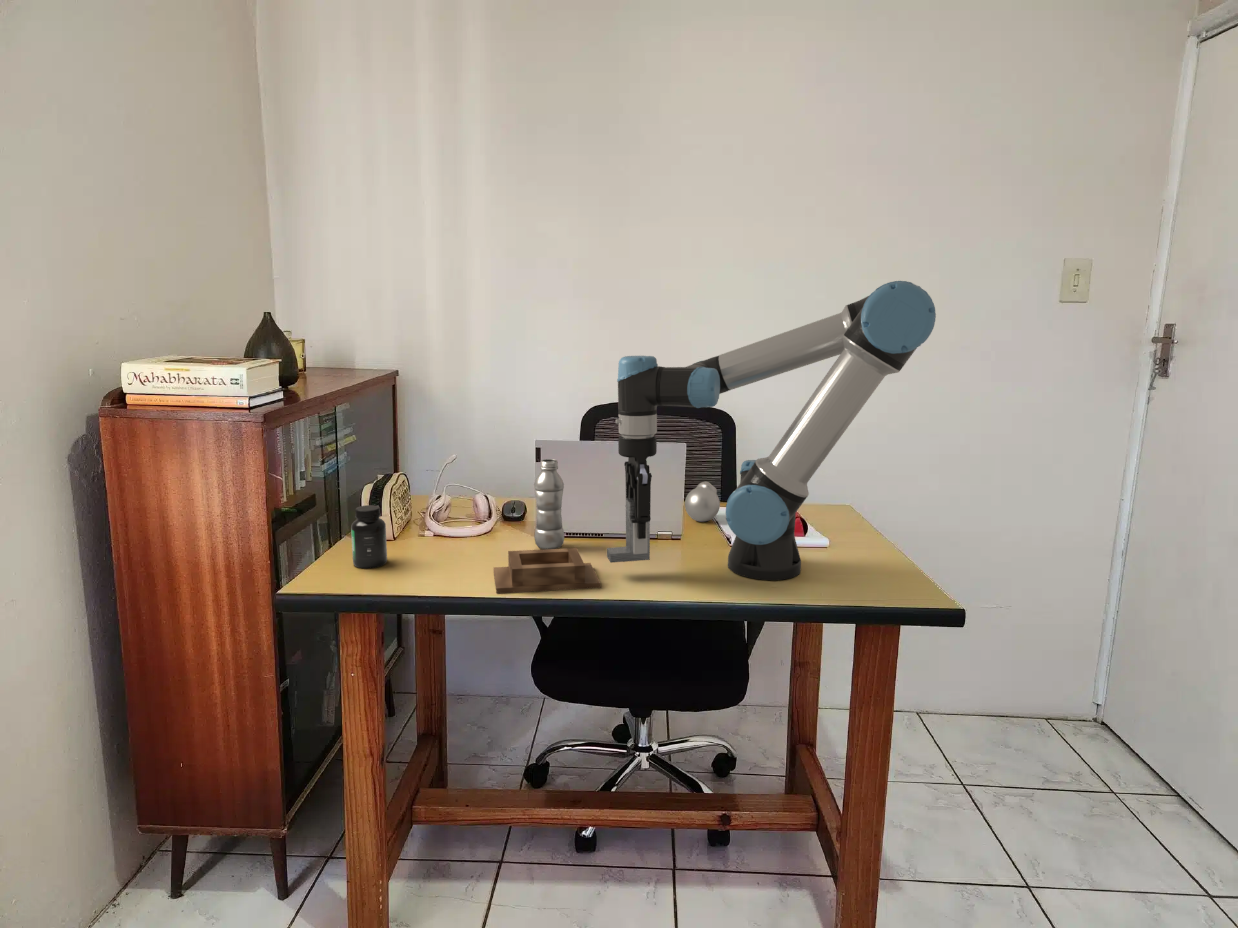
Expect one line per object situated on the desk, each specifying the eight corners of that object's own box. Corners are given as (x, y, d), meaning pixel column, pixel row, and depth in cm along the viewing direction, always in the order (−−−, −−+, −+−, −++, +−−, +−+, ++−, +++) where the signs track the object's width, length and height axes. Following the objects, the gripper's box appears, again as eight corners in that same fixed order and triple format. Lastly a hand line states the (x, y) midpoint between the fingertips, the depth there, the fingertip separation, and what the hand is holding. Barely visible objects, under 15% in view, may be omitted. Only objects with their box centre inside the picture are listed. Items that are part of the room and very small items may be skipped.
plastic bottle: (559, 553, 175) (560, 464, 171) (530, 551, 176) (529, 462, 172) (567, 545, 181) (568, 458, 177) (539, 542, 182) (538, 457, 178)
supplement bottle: (349, 569, 163) (346, 512, 160) (358, 558, 169) (355, 503, 167) (383, 569, 163) (380, 512, 161) (390, 558, 170) (388, 503, 167)
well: (590, 567, 166) (590, 546, 165) (600, 587, 155) (600, 565, 154) (493, 571, 162) (493, 550, 162) (496, 593, 151) (496, 570, 150)
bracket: (645, 553, 164) (645, 497, 161) (649, 559, 160) (649, 501, 157) (606, 556, 162) (606, 499, 160) (610, 562, 158) (609, 503, 156)
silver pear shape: (728, 522, 202) (730, 484, 200) (698, 527, 197) (700, 488, 195) (705, 514, 209) (707, 477, 207) (676, 518, 204) (678, 480, 202)
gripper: (610, 429, 164) (611, 538, 168) (627, 443, 147) (628, 564, 152) (646, 428, 165) (646, 536, 170) (667, 441, 149) (666, 561, 153)
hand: (637, 549), depth 161 cm, fingers closed on bracket, 4 cm apart
